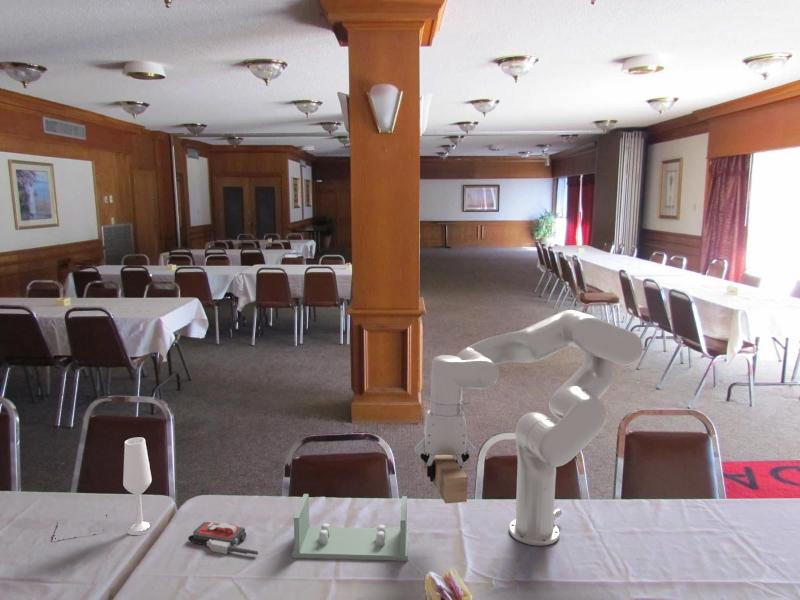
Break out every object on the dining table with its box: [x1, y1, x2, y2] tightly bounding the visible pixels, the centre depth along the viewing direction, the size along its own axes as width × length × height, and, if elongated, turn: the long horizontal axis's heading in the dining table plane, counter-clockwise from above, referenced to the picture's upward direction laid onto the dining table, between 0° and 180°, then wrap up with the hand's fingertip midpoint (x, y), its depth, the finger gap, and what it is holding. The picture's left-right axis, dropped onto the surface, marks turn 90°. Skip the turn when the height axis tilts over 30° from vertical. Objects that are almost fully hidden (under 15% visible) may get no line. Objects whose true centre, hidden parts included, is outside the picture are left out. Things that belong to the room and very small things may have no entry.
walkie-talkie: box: [187, 521, 259, 556], centre depth 148 cm, size 9×4×20 cm
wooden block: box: [423, 447, 468, 505], centre depth 145 cm, size 20×5×6 cm, turn 12°
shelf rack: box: [291, 493, 410, 562], centre depth 147 cm, size 28×12×10 cm, turn 88°
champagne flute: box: [122, 436, 153, 531], centre depth 153 cm, size 7×7×24 cm
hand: (443, 478), depth 145 cm, fingers closed on wooden block, 5 cm apart
